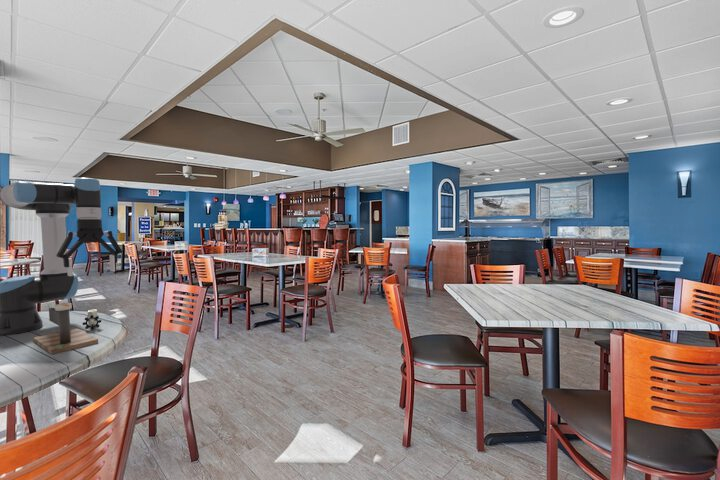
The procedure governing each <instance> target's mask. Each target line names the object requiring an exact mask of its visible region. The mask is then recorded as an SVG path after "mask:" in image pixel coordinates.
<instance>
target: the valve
mask: <svg viewBox="0 0 720 480" xmlns="http://www.w3.org/2000/svg"><path fill="white" fill-rule="evenodd" d="M99 318H100V317H99V315H98V311H97V309H89V310H88V311H87V316H86V317H85V318H84V322H82V325H83V326H85V327H84V329H85V330H87V329H89V328H90V330H91V331H93V330H95V328H100V323H102V320H101V319H99ZM95 324H96V325H95Z"/></svg>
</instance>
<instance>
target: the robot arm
mask: <svg viewBox="0 0 720 480" xmlns="http://www.w3.org/2000/svg"><path fill="white" fill-rule="evenodd" d="M101 189H102V188H101V183H100V180H99V179H97V178H91V177H77V178H75V180H74V184H67V183H66V184H64V183H48V182H47V183H46V182H34V181H33V182H31V181H15V182H14V184H12V183H11V184H8V185H5V186H3V187H2V188H1V189H0V201H1V203H2V204H4V205H5V206H7V207H10V208H14V209H19V210H22V211H23V210H24V211H35V215H36V216H38V217H39V218H40V227H41V228H40V229H41V241H42V243H41V244H42V258H43V259H42V260H43V270H41V272H40V273H39V277H35V275H33V274H28V275H20V276H15V277H9V278H5V279H3V280H1V281H0V336H4V335H5V336H6V335H16V334H21V333H22V334H23V333H27V332H30V331H34V330H35V331H36V330H37V329H41V328H42V327H43V326H44V325H43V323H44V322H43V320H42V318H41V316H40V314H39V312H38V310H37V304H41V303H47V302H49V303H50V302H53V301H59V300H60V301H63V300H68V299H72V298H74V297H75V296H76V294H77V292H78V289H79V277H78V275H77V274H76V273H74V272H73V260H72V259H73V258H71V257H72V255H73V254H74V253H75V252H76V251H77V250H78V249H79V248H80V247H81V246H82V245H83V244H90V243H91V244H92V243H93V244H97V243H98V244H99V245H100V246H102V247H103V248H104V249H105V250H107V251H108V252H109V253H110V254H109V272H116V263H117V262H118V255H119V254H122V253H123V249H122V248H121V247H120V245H119V243H118V242H117V240H116V239H115V238H114V236H113V231H112V230H105V231H103V223H102V222H103V221H102V219H101V218H102V201H101V200H102V199H101ZM74 205H76V206H75V208H76V218H78V219H77V220H76V227H77V228H76V229H77V231H76V232H75V231H67V225H66V217H68V216H69V215H70V212H71V211H74ZM75 236H76V237H77V238H78V239H77V240H76V242H75V243H73V245H72V246H71V247H70V248H69V246H70V244H71V242H72V240H73V238H75ZM103 236H105V237H107V239H108V241H109V243H110V244H111V245H109V244H108V243H107V242H106V241H105V240H104V239H103V238H102V237H103Z"/></svg>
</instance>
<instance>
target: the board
mask: <svg viewBox="0 0 720 480" xmlns="http://www.w3.org/2000/svg"><path fill="white" fill-rule="evenodd" d="M70 333H71V341H70V342H68V343H60V336H59V331H56V332H54V333H52V332H51V333H48V334H43V335H38V336H34V337H32V339H33V342H34V343H35V344H37V345H38V346H39V347H41V348H42V349H44V350H45V351H46V352H47V353H49V354H51V355H55V354H58V353H63V352H67V351H71V350H75V349H79V348H83V347H86V346H87V347H88V346H91V345H95V344H98V343H99V338H97V337H96V336H94V335H91V334H89V333H88V332H86V331H83V330H81V329H80V328H78V327H77V328H72V329H71V328H70Z"/></svg>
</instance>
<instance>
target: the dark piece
mask: <svg viewBox="0 0 720 480" xmlns="http://www.w3.org/2000/svg"><path fill="white" fill-rule="evenodd" d="M72 304H73V303H71V302H63V303H58V304H55V305H54V307H51V308H50V307H49V308H48V316H49V317H48V318H49V321H50V322H51V323H53V324H55V325H57V326H58V332H59V336H60V343H68V342H70V341H71V333H70V330H71V322H70V319H71V318H70V310H72V308H73V307H72Z"/></svg>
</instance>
